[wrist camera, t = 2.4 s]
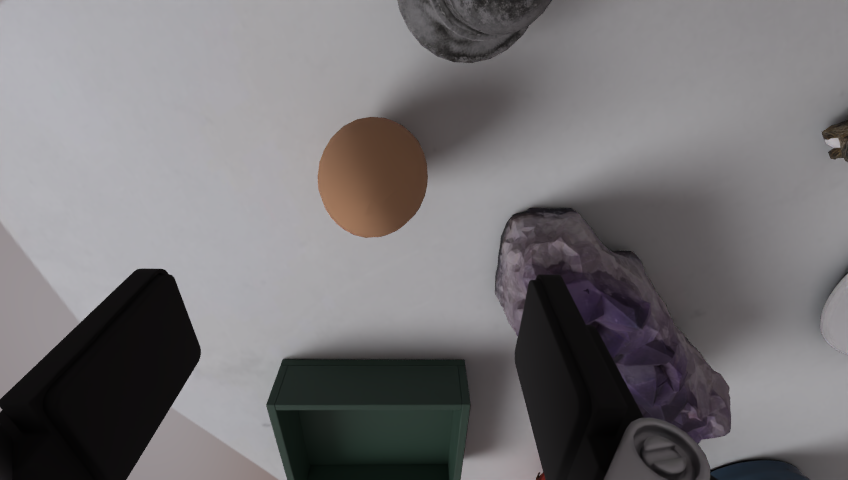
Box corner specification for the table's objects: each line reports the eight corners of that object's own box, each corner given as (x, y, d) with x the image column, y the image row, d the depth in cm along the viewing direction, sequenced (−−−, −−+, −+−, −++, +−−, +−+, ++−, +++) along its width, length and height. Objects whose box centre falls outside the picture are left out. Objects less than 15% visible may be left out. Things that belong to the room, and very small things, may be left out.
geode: (425, 268, 27) (448, 376, 18) (571, 160, 25) (682, 220, 16) (567, 422, 35) (634, 552, 26) (688, 351, 33) (806, 464, 24)
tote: (306, 462, 38) (295, 508, 35) (282, 359, 31) (265, 405, 28) (453, 461, 39) (456, 507, 35) (464, 359, 31) (470, 404, 28)
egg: (319, 116, 21) (275, 171, 15) (412, 91, 21) (411, 136, 14) (351, 200, 24) (327, 280, 17) (435, 180, 23) (443, 254, 17)
